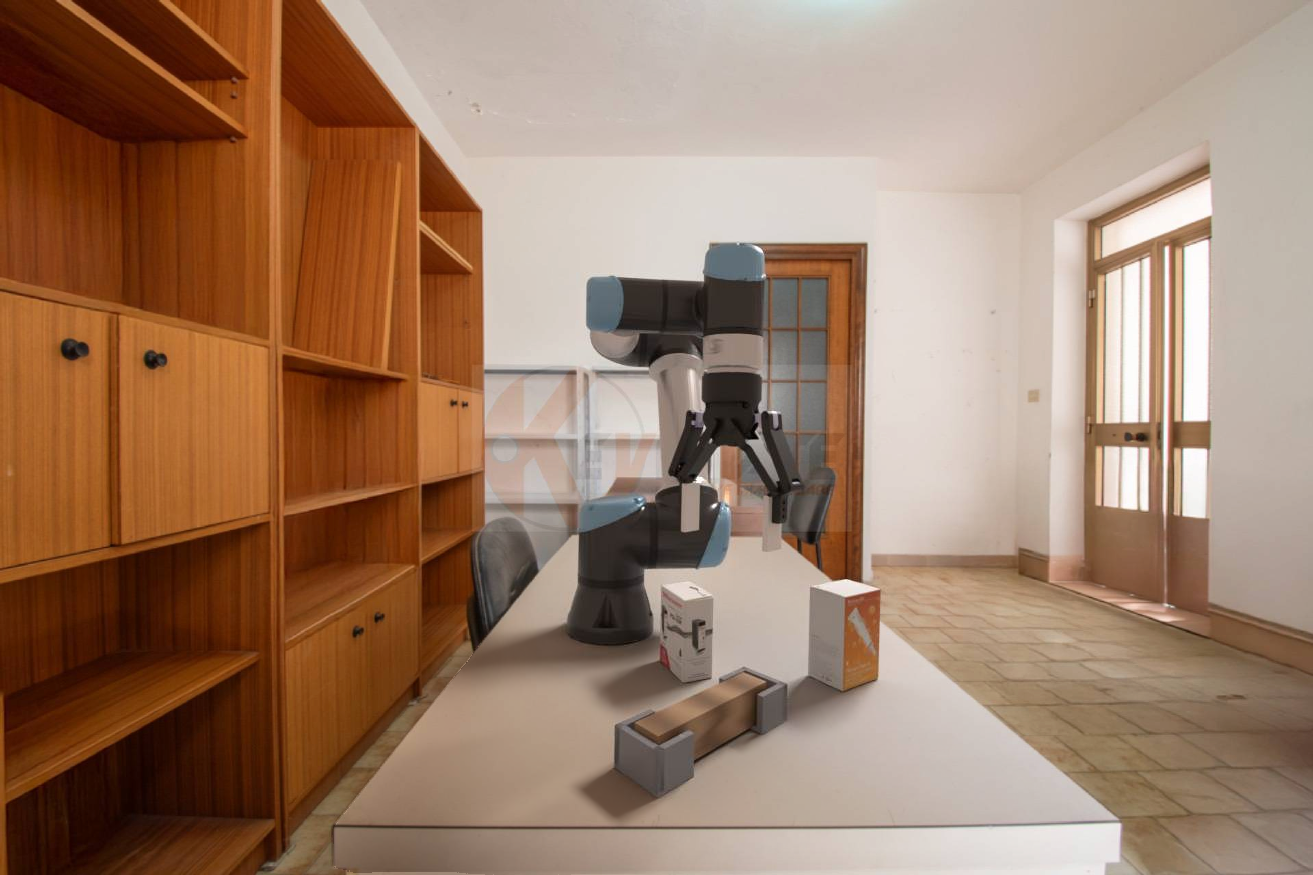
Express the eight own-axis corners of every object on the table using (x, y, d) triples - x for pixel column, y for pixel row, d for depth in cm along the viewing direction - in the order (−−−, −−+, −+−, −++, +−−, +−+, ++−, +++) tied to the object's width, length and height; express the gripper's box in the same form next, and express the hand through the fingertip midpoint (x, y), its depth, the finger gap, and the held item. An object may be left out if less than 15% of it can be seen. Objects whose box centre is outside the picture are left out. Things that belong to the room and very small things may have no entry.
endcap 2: (718, 712, 69) (719, 677, 69) (743, 700, 73) (744, 666, 73) (762, 734, 64) (762, 696, 64) (786, 719, 68) (787, 683, 68)
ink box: (657, 660, 85) (659, 583, 85) (686, 655, 87) (687, 580, 87) (682, 684, 77) (684, 599, 77) (713, 678, 79) (715, 595, 79)
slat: (657, 781, 55) (658, 736, 55) (634, 765, 57) (634, 722, 57) (765, 718, 67) (766, 681, 67) (742, 707, 70) (743, 672, 70)
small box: (843, 693, 75) (845, 596, 75) (806, 675, 80) (808, 585, 80) (880, 679, 80) (882, 588, 79) (843, 663, 85) (844, 577, 85)
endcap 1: (614, 766, 58) (614, 724, 58) (649, 748, 61) (650, 708, 61) (657, 797, 53) (658, 752, 53) (693, 776, 56) (694, 733, 56)
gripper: (644, 374, 77) (642, 527, 78) (799, 364, 58) (793, 565, 59) (683, 377, 82) (680, 521, 83) (837, 369, 63) (831, 554, 64)
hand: (727, 539), depth 71 cm, fingers open, 13 cm apart
